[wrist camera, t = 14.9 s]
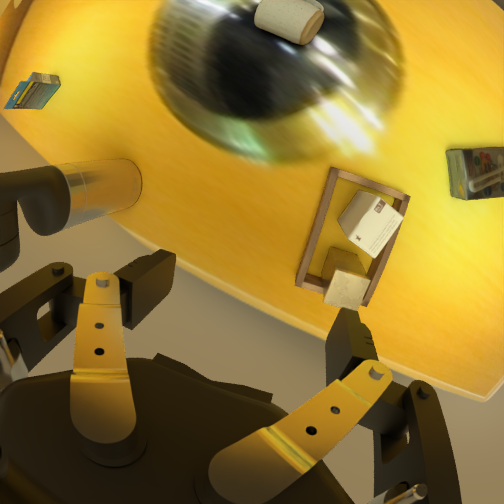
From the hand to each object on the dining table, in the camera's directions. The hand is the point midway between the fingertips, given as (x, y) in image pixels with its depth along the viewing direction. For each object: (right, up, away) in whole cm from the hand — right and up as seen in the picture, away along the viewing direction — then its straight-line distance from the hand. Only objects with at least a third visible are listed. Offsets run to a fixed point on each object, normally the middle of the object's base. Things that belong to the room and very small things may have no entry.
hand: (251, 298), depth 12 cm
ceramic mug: (+7, +38, +19) cm, 43 cm away
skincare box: (+16, +8, +27) cm, 32 cm away
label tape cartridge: (-48, +40, +30) cm, 69 cm away
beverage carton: (+40, +16, +19) cm, 47 cm away
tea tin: (+14, 0, +29) cm, 32 cm away
